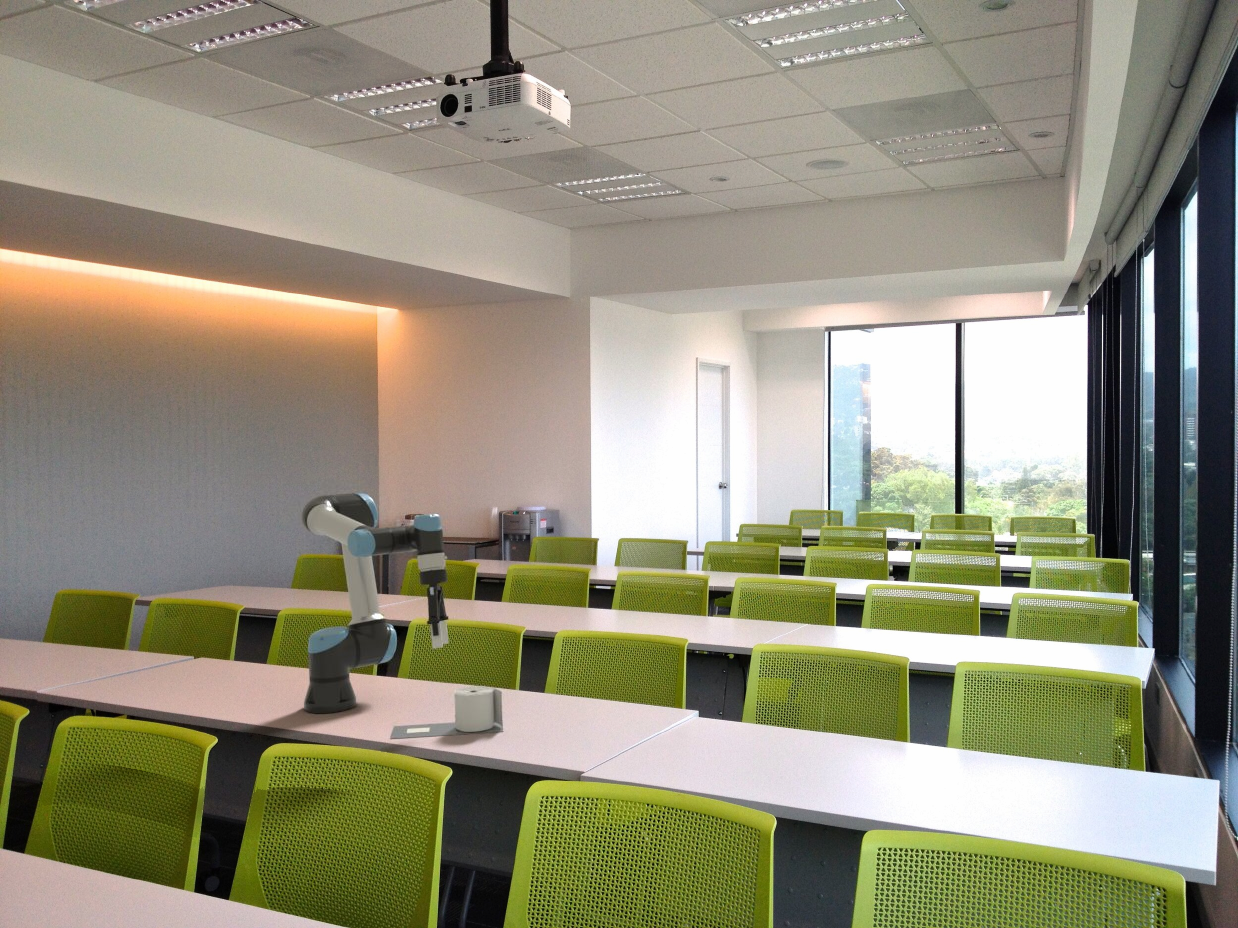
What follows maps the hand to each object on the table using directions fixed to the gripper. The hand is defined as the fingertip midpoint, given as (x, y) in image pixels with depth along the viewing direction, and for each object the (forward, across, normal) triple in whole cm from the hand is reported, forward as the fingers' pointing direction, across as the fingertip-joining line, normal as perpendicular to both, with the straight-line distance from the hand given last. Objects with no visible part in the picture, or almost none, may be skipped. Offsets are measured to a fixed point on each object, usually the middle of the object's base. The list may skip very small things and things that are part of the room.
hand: (440, 645), depth 278 cm
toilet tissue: (+23, 0, -8) cm, 24 cm away
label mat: (+23, -1, 0) cm, 23 cm away
